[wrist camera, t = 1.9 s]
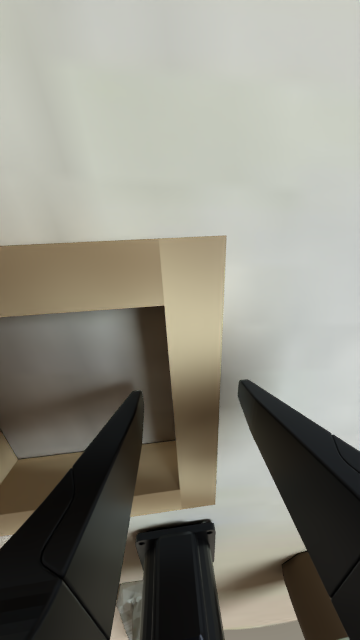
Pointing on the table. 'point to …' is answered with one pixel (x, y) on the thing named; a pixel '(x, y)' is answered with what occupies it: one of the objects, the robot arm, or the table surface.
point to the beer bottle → (311, 600)
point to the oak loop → (183, 348)
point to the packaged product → (130, 607)
